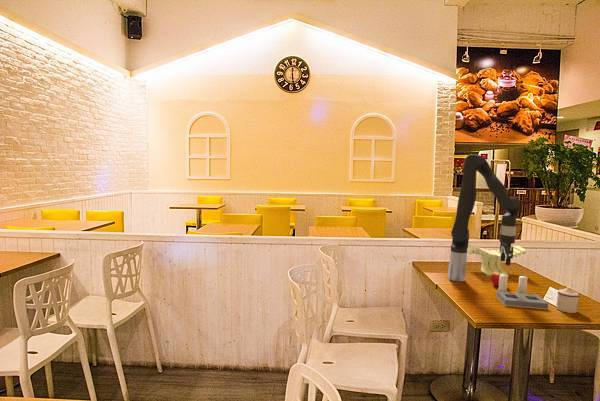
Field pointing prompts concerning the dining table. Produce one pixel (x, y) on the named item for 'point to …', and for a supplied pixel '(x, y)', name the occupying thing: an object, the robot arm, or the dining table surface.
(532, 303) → the housing
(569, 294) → the teacup with lid
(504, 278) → the jaw
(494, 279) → the apple
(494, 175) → the robot arm
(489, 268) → the slatted curved stool
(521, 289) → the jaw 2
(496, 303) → the dining table surface
